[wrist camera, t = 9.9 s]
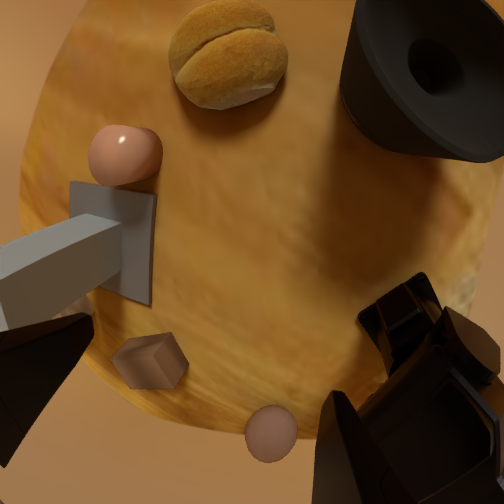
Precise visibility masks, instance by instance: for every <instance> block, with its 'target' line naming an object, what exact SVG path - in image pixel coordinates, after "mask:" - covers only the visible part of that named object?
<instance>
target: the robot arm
mask: <svg viewBox="0 0 504 504" xmlns="http://www.w3.org/2000/svg"><path fill="white" fill-rule="evenodd" d="M421 277H423V279H422V280H421V281H419V280H420V278H421ZM363 316H367V317H366V318H362V317H363ZM358 318H359V321H360V323H361V324H362V326H363V327H364V329H365V330H366V332H367V333H368V334H369V336H370V337H371V339H372V340H373V342H374V343H375V345H376V346H377V348H378V349H379V351H380V352H381V354H382V357H383V361H384V364H385V368H386V372H387V375H388V380H387V381H386V382H385V383H384V384H383V385H382V386H381V387H380V388H379V389H378V390H377V391H376V392H375V393H374V394H371V395H370V396H369V397H368V398H367V399H366V402H365V403H364V404H363V405H361V406H360V408H359V409H358V410H357V412H356V410H355V409H354V407H353V406H352V404H351V402H350V401H349V399H348V398H347V396H346V395H345V393H344V392H342V391H337V390H332V391H331V392H330V393H329V395H328V397H327V399H326V400H325V402H324V404H323V406H322V410H321V416H320V423H319V429H318V435H317V441H316V447H315V463H314V478H313V479H314V480H313V492H312V504H504V384H503V383H502V382H501V380H500V379H499V378H498V376H497V375H498V374H499V373H500V347H499V346H498V345H497V343H496V342H495V341H494V340H493V339H492V338H491V337H490V336H489V334H488V333H487V332H486V331H485V330H484V329H483V328H481V327H480V326H478V325H477V324H475V323H473V322H472V321H470V320H469V319H467V318H465V317H464V316H462V315H461V314H459V313H457V312H456V311H454V310H452V309H451V308H449V307H447V306H445V308H444V309H443V310H442V308H441V305H440V303H439V301H438V299H437V296H436V294H435V292H434V290H433V288H432V285H431V283H430V281H429V279H428V277H427V276H426V274H425V273H423V272H419V273H418V274H416V275H415V276H413V277H412V278H411V279H409V280H408V281H406V282H405V283H402V284H400V285H399V286H397V287H396V288H394V289H393V290H391V291H390V292H388V293H387V294H385V295H384V296H382V297H381V298H379V299H378V300H377V301H376V302H375V303H374V304H372V305H370V306H369V307H367V308H366V309H364V310H363V311H361V312H360V313H359V315H358ZM93 337H94V326H93V320H92V317H91V316H90V315H89V314H87V313H85V312H80V313H76V314H72V315H68V316H64V317H60V318H56V319H52V320H48V321H44V322H40V323H35V324H31V325H27V326H23V327H19V328H15V329H10V330H6V331H2V332H0V465H1V466H2V467H3V468H5V467H6V466H7V464H8V463H9V461H10V459H11V458H12V456H13V454H14V453H15V451H16V449H17V448H18V446H19V445H20V443H21V442H22V440H23V439H24V437H25V434H27V432H28V431H29V429H30V428H31V426H32V425H33V423H34V422H35V421H36V419H37V418H38V416H39V415H40V413H41V412H42V410H43V409H44V408H45V406H46V405H47V403H48V402H49V401H50V399H51V398H52V396H53V395H54V394H55V392H56V391H57V390H58V388H59V387H60V386H61V384H62V383H63V382H64V380H65V379H66V378H67V376H68V375H69V374H70V372H71V371H72V370H73V368H74V367H75V366H76V364H77V362H78V361H79V360H80V358H81V356H82V355H83V353H84V351H85V350H86V348H87V347H88V345H89V344H90V342H91V340H92V339H93ZM0 504H4V503H3V502H2V501H1V500H0Z"/></svg>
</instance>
